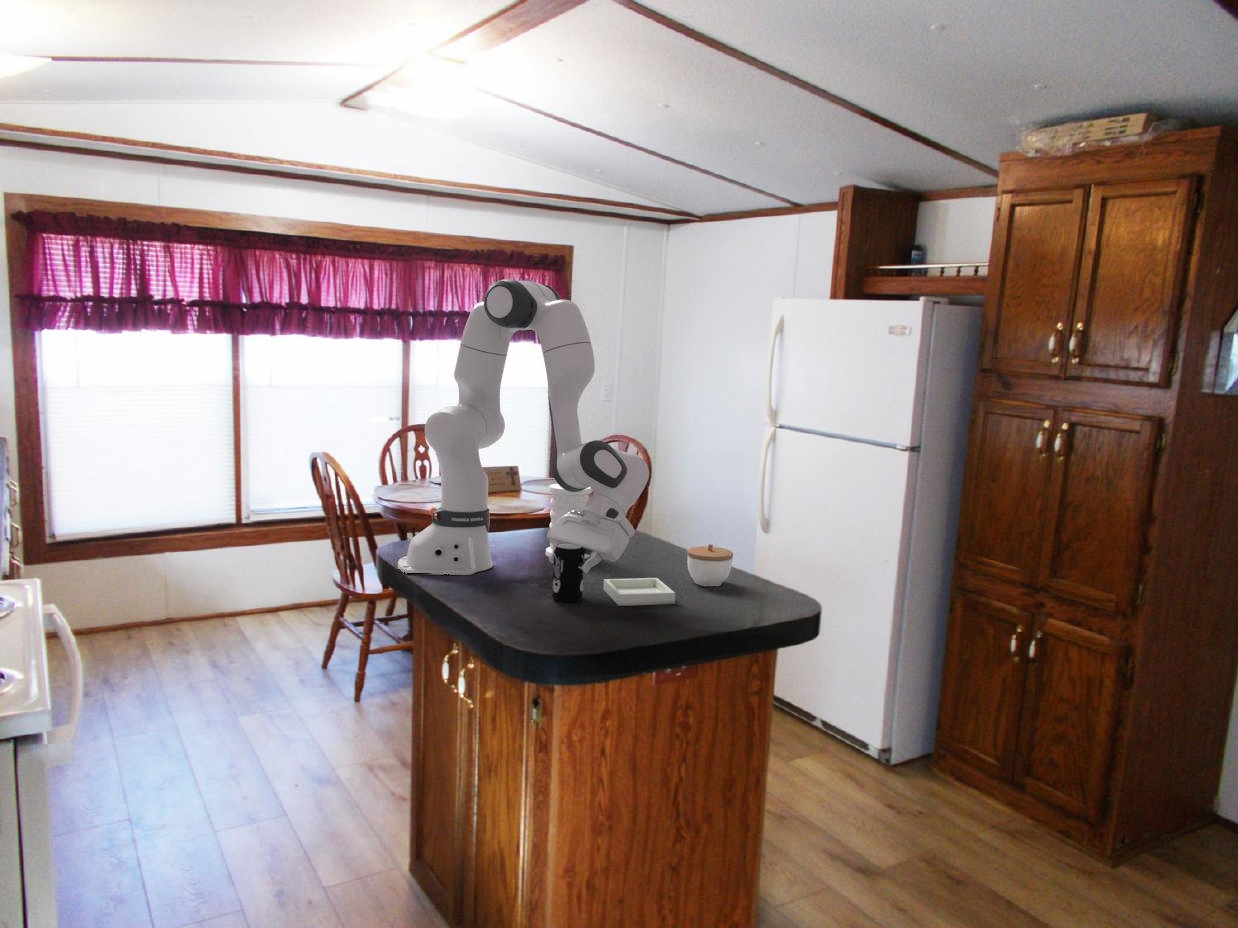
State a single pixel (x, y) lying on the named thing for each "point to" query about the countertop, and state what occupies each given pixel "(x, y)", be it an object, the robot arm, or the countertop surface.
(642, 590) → the tray
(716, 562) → the lidded jar
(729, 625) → the countertop surface
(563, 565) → the beverage can
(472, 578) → the countertop surface
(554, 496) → the decorative container
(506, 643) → the countertop surface
